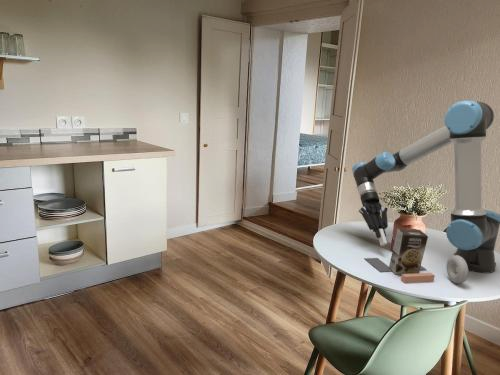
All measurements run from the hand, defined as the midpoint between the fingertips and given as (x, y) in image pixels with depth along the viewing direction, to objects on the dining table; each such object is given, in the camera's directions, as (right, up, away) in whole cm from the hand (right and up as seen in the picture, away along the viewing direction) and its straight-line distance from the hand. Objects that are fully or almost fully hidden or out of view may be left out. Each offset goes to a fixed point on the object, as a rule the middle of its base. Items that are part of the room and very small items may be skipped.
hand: (384, 244), depth 160 cm
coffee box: (+3, -8, -13) cm, 16 cm away
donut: (+19, -11, -19) cm, 29 cm away
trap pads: (+2, -7, -7) cm, 10 cm away
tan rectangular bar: (+5, -10, -20) cm, 23 cm away
